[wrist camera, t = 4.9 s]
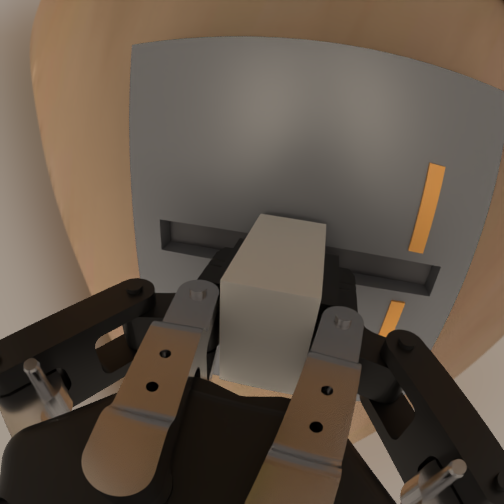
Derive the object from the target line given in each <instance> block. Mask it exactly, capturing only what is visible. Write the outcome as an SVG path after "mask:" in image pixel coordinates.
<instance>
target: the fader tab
mask: <svg viewBox="0 0 504 504" xmlns="http://www.w3.org/2000/svg"><path fill="white" fill-rule="evenodd" d="M325 241H326V224H322V223H316V222H310V221H304V220H298V219H292V218H285V217H279V216H273V215H266V214H260V215H259V217H258V219H257V220H256V222H255V224H254V225H253V227H252V229H251V230H250V232H249V233H248V235H247V237H246V238H245V240H244V242H243V243H242V245H241V247H240V248H239V250H238V252H237V253H236V255H235V257H234V258H233V260H232V262H231V263H230V265H229V267H228V268H227V270H226V272H225V273H224V275H223V277H222V278H221V280H220V350H219V368H220V379H222V380H226V381H230V382H235V383H239V384H243V385H248V386H252V387H257V388H261V389H266V390H271V391H276V392H281V393H287V394H292V395H293V393H294V391H295V388H296V385H297V383H298V380H299V377H300V375H301V372H302V369H303V367H304V364H305V361H306V358H307V354H308V351H309V347H310V343H311V339H312V335H313V331H314V327H315V323H316V319H317V315H318V311H319V307H320V303H321V298H322V285H323V272H324V258H325Z"/></svg>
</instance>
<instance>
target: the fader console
mask: <svg viewBox="0 0 504 504" xmlns="http://www.w3.org/2000/svg"><path fill="white" fill-rule="evenodd" d="M129 138H130V171H131V190H132V205H133V217H134V229H135V239H136V248H137V257H138V265H139V273H140V279H146V280H148V281H150V282H151V283H153V285H154V287H155V293H176V292H177V290H178V288H179V287H180V286H181V285H182V284H183V283H185V282H187V281H191V280H197V279H198V277H199V276H200V275H201V273H202V272H203V270H204V269H205V268H206V266H207V265H208V263H209V262H210V261H211V259H212V258H213V256H214V255H215V254H216V252H217V251H219V250H221V249H223V248H225V247H229V248H234V246H235V245H236V243H237V242H238V240H239V239H240V238H246V237H247V235H248V233H249V232H250V230H251V229H252V227H253V225H254V224H255V222H256V220H257V219H258V217H259V215H260V214H266V215H273V216H279V217H285V218H292V219H298V220H304V221H310V222H316V223H322V224H326V241H325V253H330V254H336V255H339V267H341V268H347V269H350V270H351V272H352V273H353V275H354V276H355V282H356V285H355V286H356V294H357V307H358V313H359V314H360V315H361V317H362V318H363V320H364V326H365V327H366V328H367V329H368V330H370V331H372V332H374V333H376V334H378V335H381V336H384V337H386V336H387V335H388V333H390V332H391V331H393V330H398V329H400V330H407V331H410V332H412V333H414V334H416V335H417V336H418V337H420V338H421V340H422V341H423V342H424V343H425V344H426V346H427V347H428V348H429V349H430V351H431V349H432V347H433V345H434V344H435V342H436V340H437V338H438V336H439V334H440V332H441V330H442V328H443V326H444V324H445V322H446V320H447V318H448V316H449V313H450V311H451V309H452V307H453V305H454V303H455V300H456V298H457V296H458V294H459V291H460V289H461V287H462V284H463V282H464V279H465V277H466V274H467V272H468V269H469V267H470V264H471V261H472V259H473V256H474V253H475V250H476V248H477V245H478V242H479V239H480V236H481V233H482V230H483V227H484V223H485V220H486V217H487V213H488V210H489V206H490V203H491V199H492V195H493V191H494V187H495V183H496V179H497V175H498V170H499V166H500V161H501V156H502V150H503V145H504V91H502V90H500V89H497V88H495V87H493V86H490V85H488V84H486V83H483V82H481V81H478V80H476V79H473V78H470V77H468V76H465V75H462V74H459V73H457V72H454V71H451V70H448V69H445V68H442V67H439V66H435V65H432V64H429V63H425V62H422V61H418V60H415V59H411V58H407V57H403V56H399V55H395V54H391V53H387V52H382V51H377V50H373V49H367V48H362V47H357V46H351V45H345V44H338V43H331V42H323V41H315V40H305V39H294V38H279V37H254V36H225V37H200V38H185V39H174V40H164V41H156V42H148V43H141V44H135V45H132V54H131V72H130V104H129ZM219 350H220V343H219V345H218V354H217V358H216V363H215V367H214V371H213V374H214V375H218V376H220V368H219ZM307 356H308V355H307ZM402 393H403V394H404V395H405V392H404V391H402ZM356 401H360V397H359V394H357V397H356Z"/></svg>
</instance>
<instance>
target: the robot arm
mask: <svg viewBox="0 0 504 504" xmlns="http://www.w3.org/2000/svg"><path fill="white" fill-rule="evenodd" d="M244 240H245V238H240V239H239V240H238V242H237V243H236V245H235V246H234V248H229V247H225V248H223V249H221V250H219V251H217V252H216V254H215V255H214V256H213V258H212V259H211V261H210V262H209V263H208V265H207V266H206V268H205V269H204V270H203V272H202V273H201V275H200V276H199V277H198V279H197V280H191V281H187V282H185V283H183V284H182V285H181V286H180V287H179V288H178V290H177V292H176V293H155V287H154V285H153V283H151V282H150V281H148V280H146V279H140V278H135V279H129V280H126V281H123V282H121V283H119V284H117V285H115V286H113V287H110V288H108V289H106V290H104V291H102V292H99V293H97V294H95V295H93V296H91V297H89V298H87V299H84V300H83V301H80V302H78V303H76V304H74V305H72V306H69V307H67V308H65V309H63V310H61V311H59V312H57V313H55V314H52V315H50V316H48V317H46V318H44V319H42V320H40V321H38V322H36V323H34V324H32V325H30V326H27V327H26V328H23V329H21V330H19V331H17V332H15V333H13V334H11V335H9V336H7V337H5V338H3V339H1V340H0V411H1V414H2V416H3V418H4V421H5V423H6V425H7V428H8V430H9V432H10V435H11V437H12V438H11V440H10V441H9V442H8V444H7V446H6V448H5V450H4V453H3V457H2V465H1V475H0V504H396V502H395V501H394V500H393V499H392V497H391V496H390V494H389V493H388V492H387V490H386V489H385V488H384V487H383V485H382V484H381V482H380V481H379V480H378V479H377V477H376V476H375V474H374V473H373V472H372V470H371V469H370V468H369V466H368V465H367V464H366V462H365V461H364V460H363V458H362V457H361V456H360V454H359V453H358V451H357V450H356V449H355V447H354V446H353V445H352V443H351V442H350V440H349V439H348V435H349V430H350V426H351V421H352V417H353V412H354V407H355V402H356V397H357V394H359V397H360V401H361V403H362V405H363V407H364V409H365V410H366V412H367V414H368V416H369V418H370V420H371V422H372V423H373V425H374V427H375V429H376V431H377V433H378V435H379V436H380V438H381V440H382V442H383V444H384V446H385V447H386V449H387V451H388V453H389V455H390V457H391V459H392V461H393V463H394V465H395V466H396V468H397V470H398V472H399V474H400V476H401V478H402V480H403V482H404V486H403V488H402V490H401V494H400V499H401V503H400V504H504V450H503V449H502V447H501V446H500V444H499V442H498V441H497V440H496V438H495V437H494V435H493V434H492V432H491V431H490V430H489V428H488V426H487V425H486V424H485V422H484V421H483V419H482V418H481V417H480V415H479V414H478V412H477V411H476V410H475V408H474V407H473V405H472V404H471V403H470V401H469V400H468V399H467V397H466V396H465V395H464V393H463V392H462V391H461V389H460V388H459V387H458V385H457V384H456V383H455V381H454V380H453V379H452V377H451V376H450V375H449V373H448V372H447V371H446V370H445V368H444V367H443V366H442V364H441V363H440V362H439V361H438V359H437V358H436V357H435V356H434V354H433V353H432V352H431V351H430V349H429V348H428V347H427V346H426V344H425V343H424V342H423V341H422V340H421V338H420V337H418V336H417V335H416V334H414V333H412V332H410V331H407V330H400V329H398V330H393V331H391V332H390V333H388V335H387V336H386V337H384V336H381V335H378V334H376V333H374V332H372V331H370V330H368V329H367V328H366V327H365V326H364V320H363V318H362V317H361V315H360V314H359V313H358V307H357V294H356V286H355V285H356V282H355V276H354V275H353V273H352V272H351V270H350V269H347V268H341V267H339V255H336V254H330V253H325V258H324V272H323V285H322V298H321V303H320V307H319V311H318V315H317V319H316V323H315V327H314V331H313V335H312V339H311V343H310V347H309V351H308V354H307V355H308V356H307V358H306V361H305V364H304V367H303V369H302V372H301V375H300V377H299V380H298V383H297V385H296V388H295V391H294V393H293V396H292V398H291V399H289V398H284V397H245V396H239V395H237V394H235V393H233V392H231V391H229V390H227V389H225V388H223V387H221V386H219V385H217V384H215V383H213V382H211V379H212V375H213V371H214V367H215V363H216V358H217V354H218V345H219V343H220V280H221V278H222V277H223V275H224V273H225V272H226V270H227V268H228V267H229V265H230V263H231V262H232V260H233V258H234V257H235V255H236V253H237V252H238V250H239V248H240V247H241V245H242V243H243V242H244ZM121 325H122V326H123V330H124V334H123V335H121V336H119V337H117V338H116V339H114V340H112V341H110V342H108V343H106V344H105V345H103V346H101V347H99V348H97V349H95V343H96V341H97V340H98V339H99V338H100V337H101V336H103V335H104V334H106V333H108V332H110V331H112V330H114V329H116V328H118V327H120V326H121ZM123 377H125V378H124V380H123V382H122V384H121V386H120V388H119V390H118V392H117V393H115V394H112V395H110V396H108V397H105V398H103V399H100V400H98V401H95V402H93V403H90V404H88V405H85V406H83V407H80V408H78V409H75V410H73V411H71V410H72V407H74V406H76V405H77V404H79V403H81V402H83V401H84V400H86V399H88V398H89V397H91V396H93V395H95V394H96V393H98V392H100V391H101V390H103V389H104V388H106V387H108V386H110V385H111V384H113V383H115V382H116V381H118V380H120V379H121V378H123ZM402 391H404V392H405V394H406V395H407V397H408V398H409V400H410V401H411V403H412V405H413V407H414V410H415V412H414V410H413V408H412V407H411V405H410V404H409V402H408V401H407V399H406V397H405V396H404V394H403V393H402Z"/></svg>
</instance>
